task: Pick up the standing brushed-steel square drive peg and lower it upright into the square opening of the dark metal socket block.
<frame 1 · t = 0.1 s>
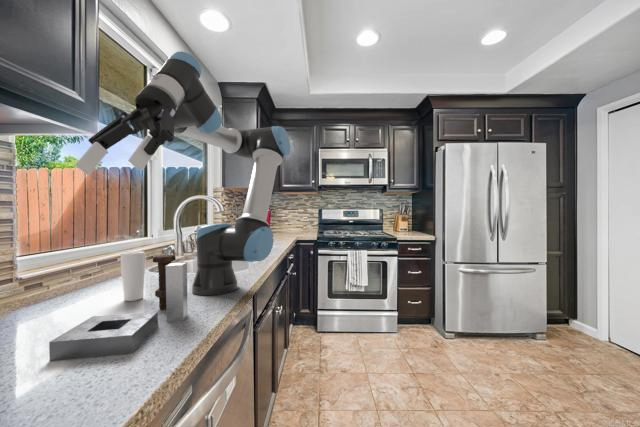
hand: (107, 168, 56), 36 cm above the countertop, tool tilted 35°, fingers open, 13 cm apart
drinking glass: (133, 299, 95), on the countertop
bolt: (165, 308, 86), on the countertop
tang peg: (177, 318, 77), on the countertop
socket block: (110, 341, 63), on the countertop
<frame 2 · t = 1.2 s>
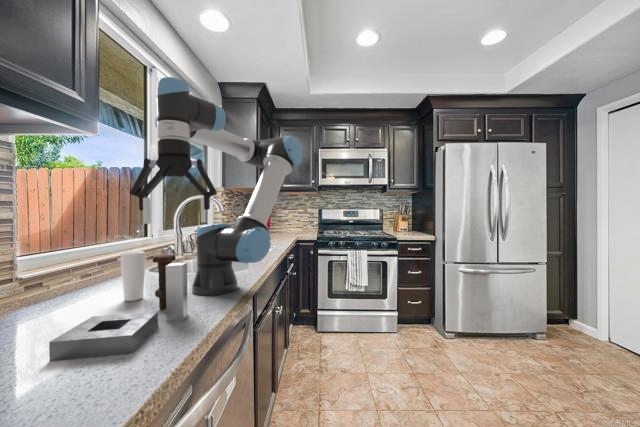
hand: (175, 223, 77), 25 cm above the countertop, tool pointing down, fingers open, 13 cm apart
nothing on the countertop moved.
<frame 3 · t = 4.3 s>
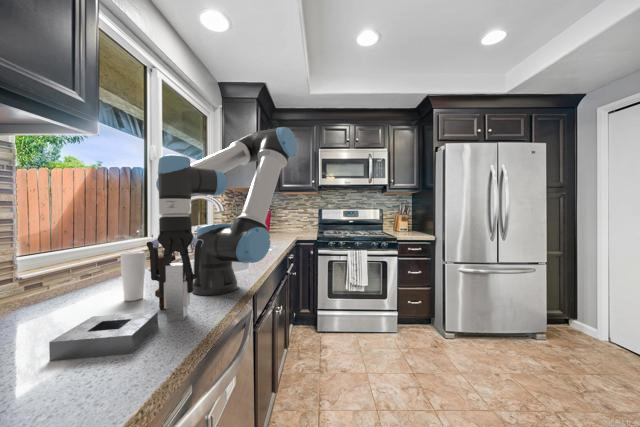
hand: (177, 305, 77), 3 cm above the countertop, tool pointing down, fingers closed on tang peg, 4 cm apart
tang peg: (177, 318, 77), on the countertop, touching gripper
everything else where it was.
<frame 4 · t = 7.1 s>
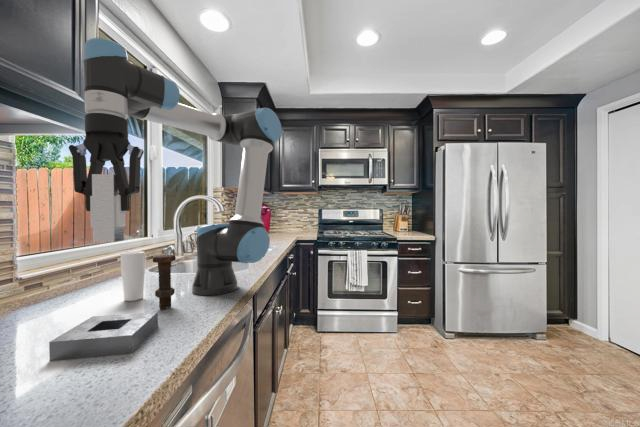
hand: (108, 226, 63), 24 cm above the countertop, tool pointing down, fingers closed on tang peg, 4 cm apart
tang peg: (108, 241, 63), point 21 cm above the countertop, touching gripper
everything else where it was.
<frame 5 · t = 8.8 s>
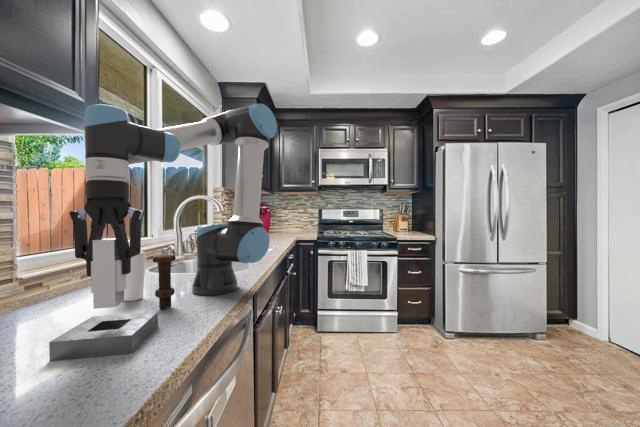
hand: (109, 290, 63), 11 cm above the countertop, tool pointing down, fingers closed on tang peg, 4 cm apart
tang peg: (109, 305, 63), point 8 cm above the countertop, touching gripper
everything else where it was.
when the fingers open (5 cm above the countertop, at t = 10.2 s): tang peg drops 1 cm, resting on socket block.
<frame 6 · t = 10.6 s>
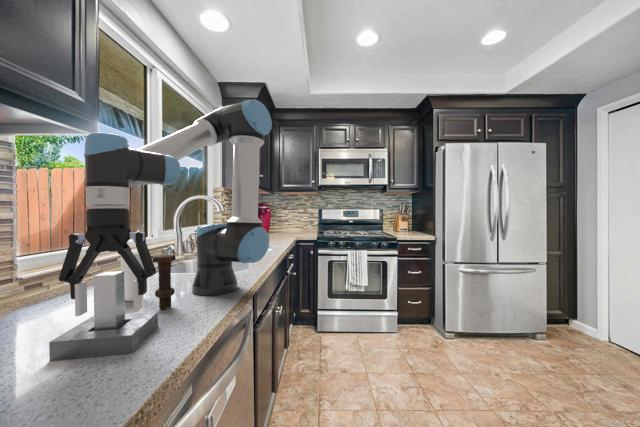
hand: (110, 311, 63), 6 cm above the countertop, tool pointing down, fingers open, 10 cm apart
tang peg: (110, 339, 63), point 1 cm above the countertop, touching socket block
everything else where it was.
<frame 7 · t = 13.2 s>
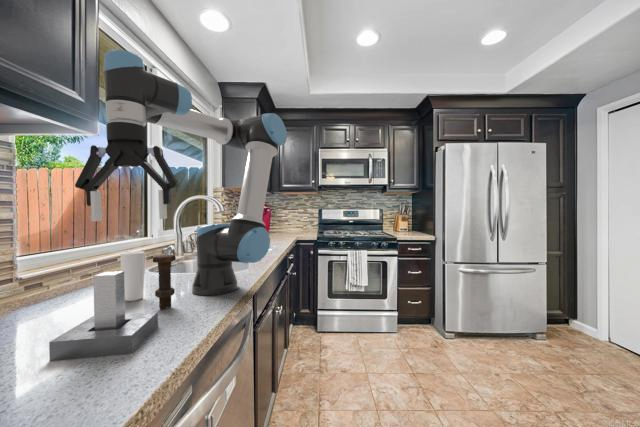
hand: (130, 220, 67), 26 cm above the countertop, tool pointing down, fingers open, 13 cm apart
nothing on the countertop moved.
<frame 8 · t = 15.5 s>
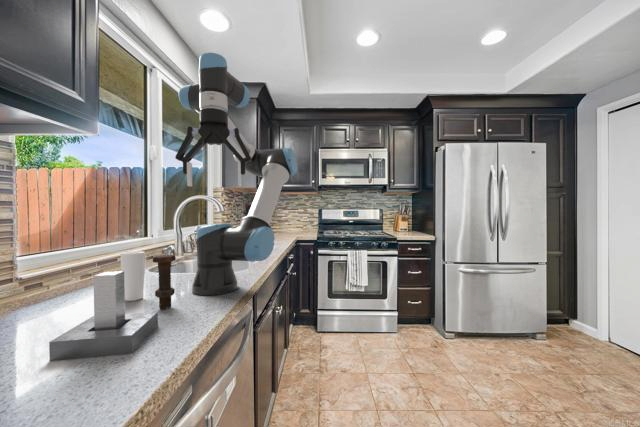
hand: (215, 186, 84), 35 cm above the countertop, tool pointing down, fingers open, 13 cm apart
nothing on the countertop moved.
at the end: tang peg 0.0 cm off-centre on the socket block, point 0.5 cm above the socket block's base; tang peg tilted 0°; the gripper is holding nothing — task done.
